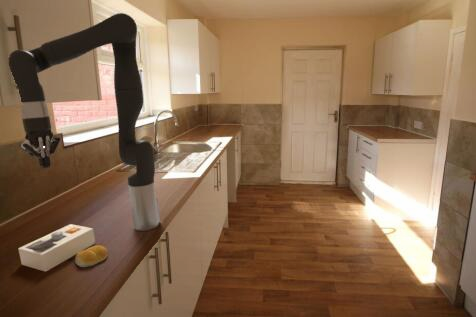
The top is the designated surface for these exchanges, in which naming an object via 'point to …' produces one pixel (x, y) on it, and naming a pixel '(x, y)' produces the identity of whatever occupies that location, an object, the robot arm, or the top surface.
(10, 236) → the top surface
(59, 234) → the grey button
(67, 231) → the orange button
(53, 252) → the console
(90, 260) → the bread roll
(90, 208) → the top surface
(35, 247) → the rocker
